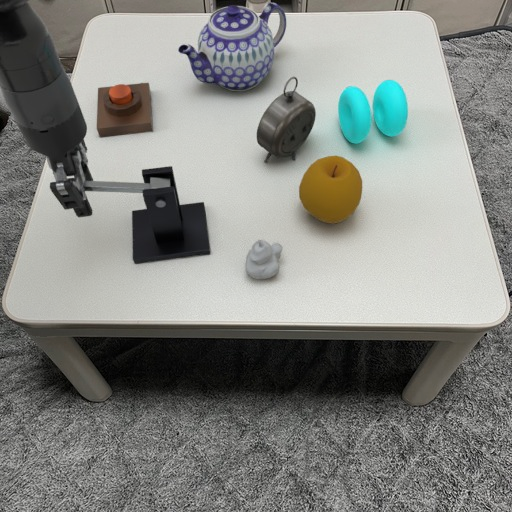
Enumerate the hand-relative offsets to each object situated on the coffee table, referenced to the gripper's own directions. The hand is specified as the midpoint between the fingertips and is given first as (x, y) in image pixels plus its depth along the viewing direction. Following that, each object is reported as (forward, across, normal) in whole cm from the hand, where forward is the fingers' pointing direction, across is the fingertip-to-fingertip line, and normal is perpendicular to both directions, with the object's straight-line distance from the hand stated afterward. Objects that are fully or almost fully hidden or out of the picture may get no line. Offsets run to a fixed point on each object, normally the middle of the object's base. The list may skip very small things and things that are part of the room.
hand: (85, 199), depth 74 cm
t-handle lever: (0, 0, +5) cm, 5 cm away
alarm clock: (+11, -15, +33) cm, 38 cm away
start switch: (+11, -31, +4) cm, 33 cm away
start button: (+7, -31, +4) cm, 32 cm away
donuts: (+11, -18, +49) cm, 53 cm away
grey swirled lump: (+11, +9, +25) cm, 28 cm away
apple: (+11, 0, +37) cm, 38 cm away
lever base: (+11, 0, +11) cm, 15 cm away
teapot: (+11, -39, +27) cm, 49 cm away
